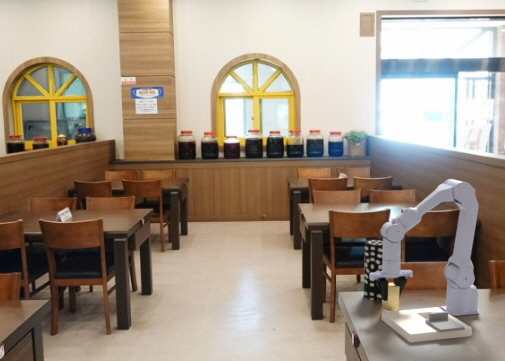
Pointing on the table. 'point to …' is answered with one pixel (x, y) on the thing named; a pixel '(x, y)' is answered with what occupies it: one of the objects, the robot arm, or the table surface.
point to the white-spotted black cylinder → (372, 268)
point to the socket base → (420, 325)
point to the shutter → (443, 322)
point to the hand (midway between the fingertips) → (390, 299)
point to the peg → (392, 298)
